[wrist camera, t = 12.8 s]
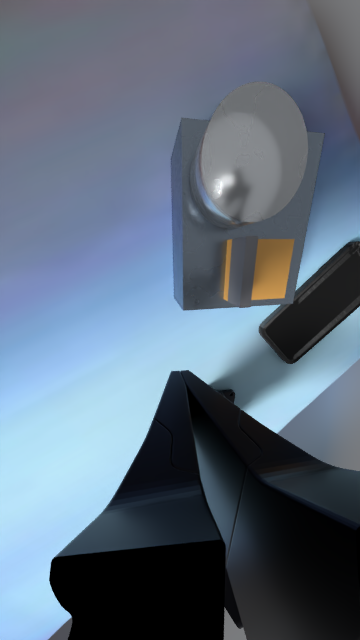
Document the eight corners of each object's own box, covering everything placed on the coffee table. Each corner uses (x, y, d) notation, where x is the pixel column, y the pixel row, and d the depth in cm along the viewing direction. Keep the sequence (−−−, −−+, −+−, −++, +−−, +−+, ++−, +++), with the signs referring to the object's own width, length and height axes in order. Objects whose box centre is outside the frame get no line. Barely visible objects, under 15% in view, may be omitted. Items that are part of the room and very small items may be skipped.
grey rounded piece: (241, 234, 18) (296, 222, 11) (179, 234, 17) (201, 220, 10) (247, 158, 16) (319, 90, 9) (178, 152, 15) (204, 73, 8)
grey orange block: (223, 299, 15) (278, 296, 16) (239, 307, 13) (303, 303, 14) (227, 240, 14) (287, 240, 15) (246, 236, 11) (317, 236, 12)
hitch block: (260, 293, 21) (292, 303, 17) (174, 297, 20) (183, 310, 15) (276, 166, 17) (324, 133, 13) (170, 158, 16) (181, 117, 11)
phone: (382, 286, 23) (290, 367, 25) (372, 284, 24) (284, 362, 26) (360, 235, 20) (258, 330, 22) (349, 236, 22) (253, 327, 23)
